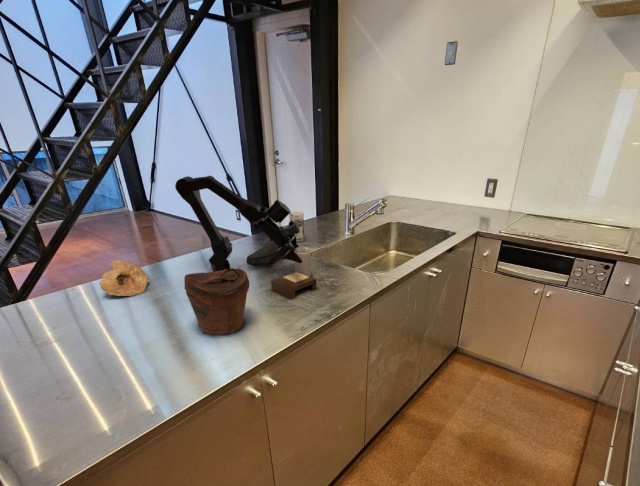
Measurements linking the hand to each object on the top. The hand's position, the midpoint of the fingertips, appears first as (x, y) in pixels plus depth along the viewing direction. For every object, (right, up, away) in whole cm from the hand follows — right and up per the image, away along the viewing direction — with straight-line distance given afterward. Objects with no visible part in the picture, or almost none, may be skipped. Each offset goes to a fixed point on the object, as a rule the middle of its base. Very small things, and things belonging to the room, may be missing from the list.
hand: (302, 258), depth 151 cm
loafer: (-16, +2, +20) cm, 25 cm away
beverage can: (0, -7, +4) cm, 8 cm away
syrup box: (-7, +18, +49) cm, 52 cm away
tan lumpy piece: (-64, -14, -11) cm, 66 cm away
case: (-22, -27, -32) cm, 47 cm away
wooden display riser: (-2, -13, -7) cm, 15 cm away
